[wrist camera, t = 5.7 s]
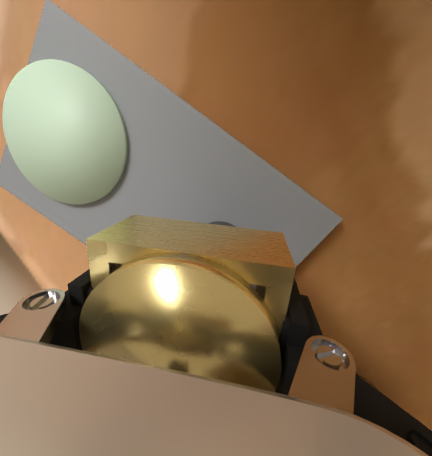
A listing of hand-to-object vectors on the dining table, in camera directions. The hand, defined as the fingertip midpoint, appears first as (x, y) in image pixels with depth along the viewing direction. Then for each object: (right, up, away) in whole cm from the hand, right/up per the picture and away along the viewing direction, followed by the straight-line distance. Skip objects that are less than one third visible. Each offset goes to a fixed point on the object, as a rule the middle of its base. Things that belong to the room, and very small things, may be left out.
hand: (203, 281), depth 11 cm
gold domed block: (0, 0, -1) cm, 1 cm away
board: (-4, +5, +6) cm, 9 cm away
